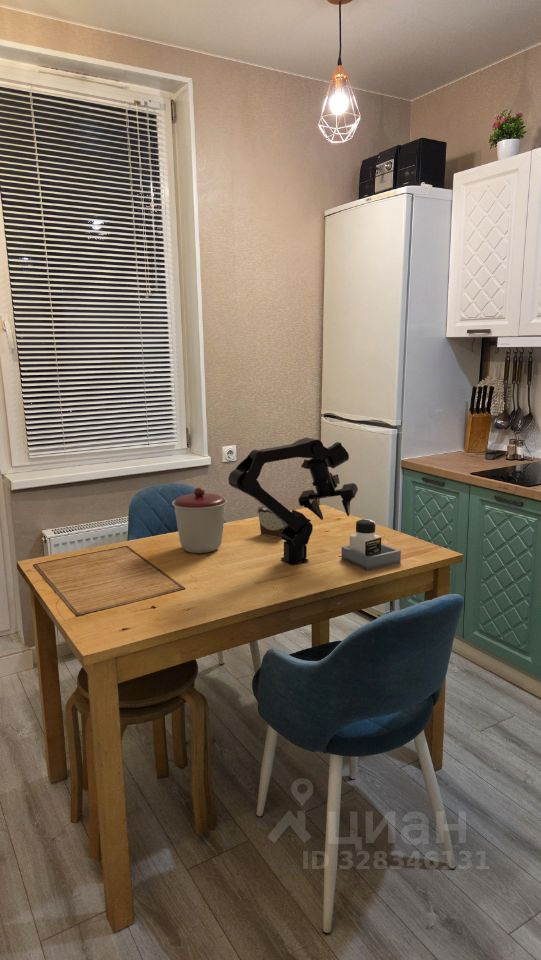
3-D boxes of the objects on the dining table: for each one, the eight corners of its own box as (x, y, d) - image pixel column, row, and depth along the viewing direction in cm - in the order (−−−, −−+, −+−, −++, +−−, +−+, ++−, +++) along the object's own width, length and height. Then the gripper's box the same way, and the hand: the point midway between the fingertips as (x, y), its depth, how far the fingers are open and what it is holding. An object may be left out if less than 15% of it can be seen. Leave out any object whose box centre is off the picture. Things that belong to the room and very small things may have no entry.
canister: (166, 556, 201) (163, 493, 197) (184, 539, 218) (181, 481, 214) (220, 558, 198) (218, 494, 194) (233, 541, 215) (232, 482, 211)
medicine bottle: (365, 562, 189) (366, 525, 187) (348, 557, 195) (349, 520, 192) (381, 558, 193) (382, 521, 191) (364, 552, 199) (365, 516, 197)
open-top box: (367, 570, 185) (367, 558, 184) (341, 558, 196) (341, 546, 196) (400, 563, 192) (400, 550, 191) (373, 551, 203) (373, 540, 202)
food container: (295, 534, 223) (295, 507, 221) (286, 538, 218) (286, 511, 216) (266, 529, 230) (266, 503, 228) (257, 533, 224) (256, 507, 222)
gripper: (354, 459, 197) (368, 501, 202) (301, 468, 205) (316, 508, 210) (346, 474, 187) (360, 518, 193) (291, 484, 196) (306, 525, 201)
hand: (335, 517), depth 200 cm, fingers open, 9 cm apart
